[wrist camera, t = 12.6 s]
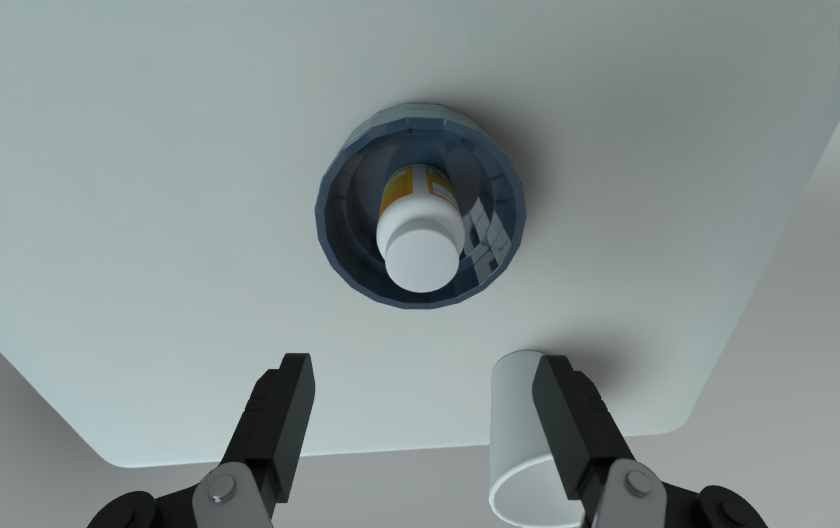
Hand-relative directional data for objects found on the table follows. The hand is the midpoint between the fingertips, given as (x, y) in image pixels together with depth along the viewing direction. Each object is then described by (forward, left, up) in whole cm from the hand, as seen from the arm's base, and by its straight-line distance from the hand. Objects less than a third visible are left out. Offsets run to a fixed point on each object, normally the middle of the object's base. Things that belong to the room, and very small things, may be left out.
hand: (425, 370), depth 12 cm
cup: (+20, +12, -18) cm, 30 cm away
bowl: (0, 0, -18) cm, 18 cm away
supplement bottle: (0, 0, -17) cm, 17 cm away
